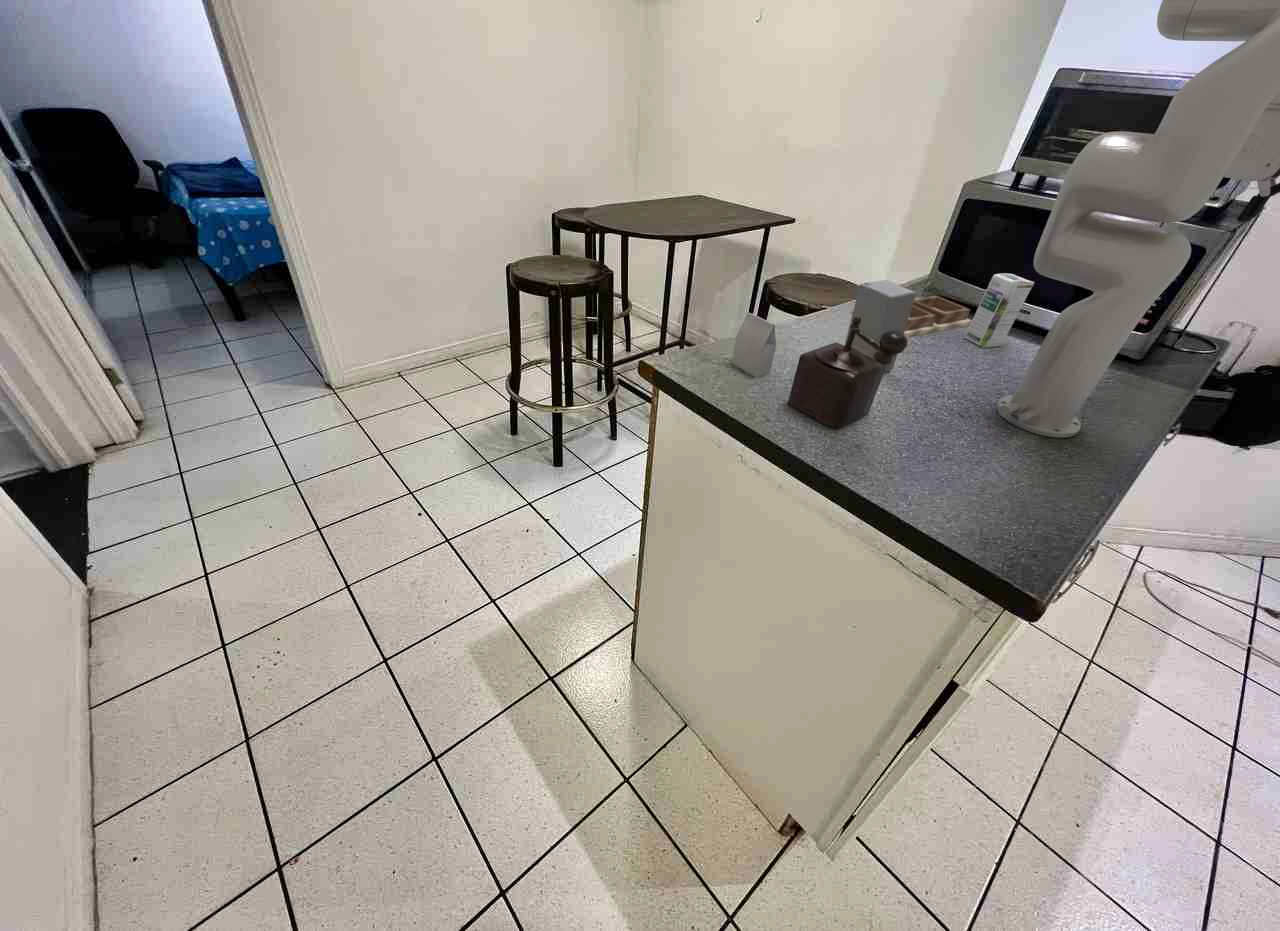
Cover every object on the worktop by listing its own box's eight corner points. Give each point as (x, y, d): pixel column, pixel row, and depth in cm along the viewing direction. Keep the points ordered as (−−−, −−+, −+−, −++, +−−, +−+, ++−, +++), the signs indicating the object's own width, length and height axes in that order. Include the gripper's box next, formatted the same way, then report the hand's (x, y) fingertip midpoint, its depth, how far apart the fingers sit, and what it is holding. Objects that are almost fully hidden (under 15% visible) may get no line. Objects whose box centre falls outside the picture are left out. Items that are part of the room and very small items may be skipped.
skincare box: (892, 372, 103) (923, 292, 94) (863, 376, 101) (892, 296, 91) (863, 354, 110) (889, 277, 100) (835, 357, 107) (859, 280, 98)
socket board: (902, 338, 117) (907, 323, 115) (850, 312, 129) (854, 298, 126) (971, 324, 127) (977, 310, 125) (917, 301, 138) (922, 288, 136)
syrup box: (962, 337, 120) (992, 273, 111) (982, 335, 121) (1013, 272, 113) (982, 348, 116) (1014, 282, 107) (1002, 346, 117) (1036, 281, 108)
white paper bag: (756, 377, 98) (766, 326, 92) (731, 363, 103) (740, 313, 96) (769, 373, 100) (781, 323, 94) (744, 359, 104) (754, 310, 98)
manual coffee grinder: (782, 404, 91) (808, 303, 80) (820, 387, 97) (850, 291, 86) (860, 448, 81) (901, 340, 71) (897, 426, 87) (941, 323, 76)
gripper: (1210, 93, 88) (1144, 204, 98) (1352, 101, 76) (1260, 227, 86) (1232, 96, 91) (1166, 203, 101) (1372, 104, 79) (1280, 225, 89)
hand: (1209, 214), depth 94 cm, fingers open, 9 cm apart
